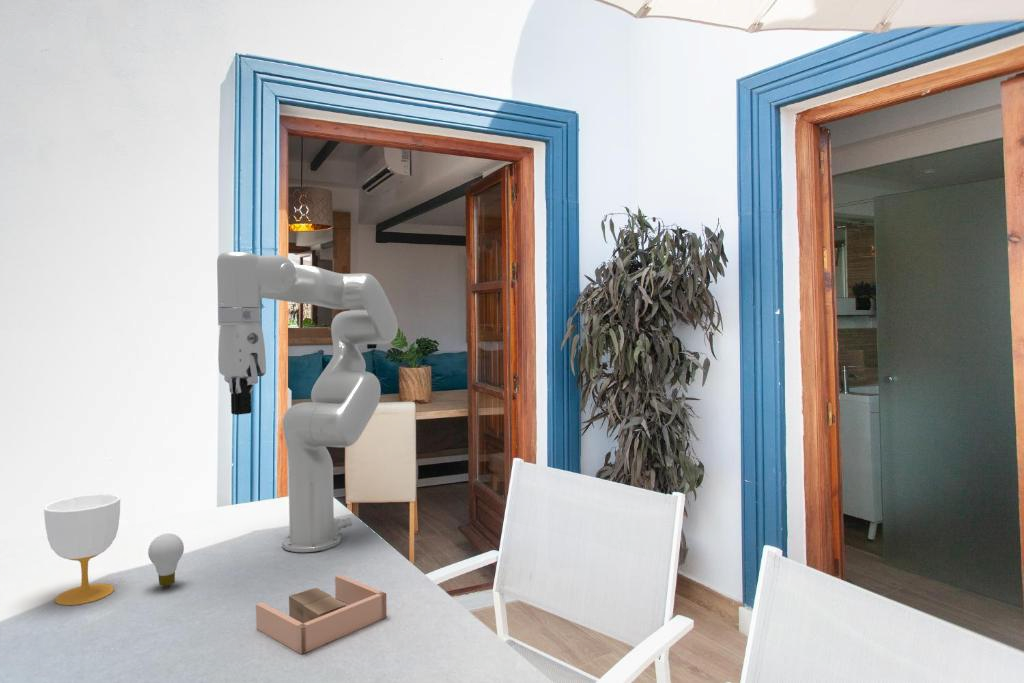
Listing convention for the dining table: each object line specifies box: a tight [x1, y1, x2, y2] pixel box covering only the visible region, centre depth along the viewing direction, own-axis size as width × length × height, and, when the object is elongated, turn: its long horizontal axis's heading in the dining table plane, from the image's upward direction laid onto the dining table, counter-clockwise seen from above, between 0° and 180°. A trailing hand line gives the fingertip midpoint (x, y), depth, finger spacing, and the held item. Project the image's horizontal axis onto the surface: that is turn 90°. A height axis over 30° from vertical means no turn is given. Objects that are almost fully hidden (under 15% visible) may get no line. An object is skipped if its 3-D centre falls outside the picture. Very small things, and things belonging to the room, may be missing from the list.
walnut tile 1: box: [288, 587, 332, 623], centre depth 110 cm, size 5×5×4 cm
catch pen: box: [255, 574, 388, 655], centre depth 107 cm, size 16×13×4 cm
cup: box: [43, 493, 121, 606], centre depth 119 cm, size 12×12×17 cm
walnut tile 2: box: [303, 595, 348, 623], centre depth 106 cm, size 5×5×4 cm
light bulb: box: [147, 533, 185, 589], centre depth 122 cm, size 6×6×10 cm
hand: (241, 413), depth 125 cm, fingers closed
